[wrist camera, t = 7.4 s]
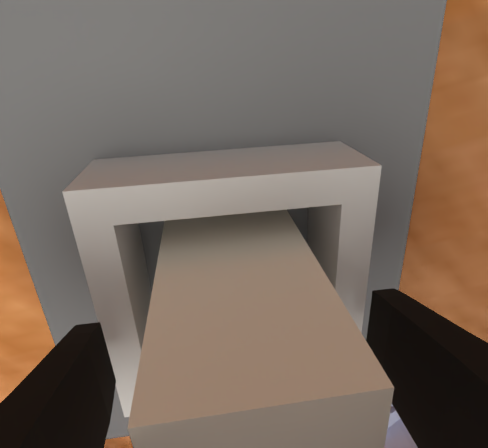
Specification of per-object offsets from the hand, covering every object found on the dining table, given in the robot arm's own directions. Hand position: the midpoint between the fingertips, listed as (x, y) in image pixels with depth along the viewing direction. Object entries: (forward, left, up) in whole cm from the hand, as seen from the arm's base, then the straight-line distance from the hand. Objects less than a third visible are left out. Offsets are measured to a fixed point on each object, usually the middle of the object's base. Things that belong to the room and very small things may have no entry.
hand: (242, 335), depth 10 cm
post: (0, 0, -4) cm, 4 cm away
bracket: (0, 0, -5) cm, 5 cm away
